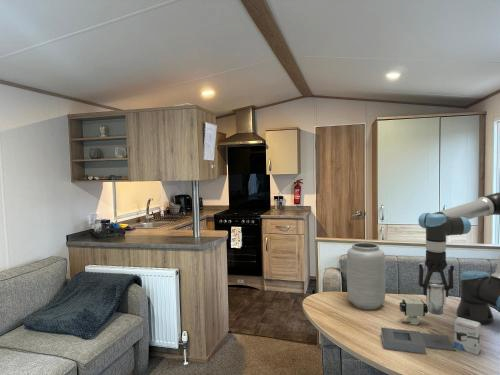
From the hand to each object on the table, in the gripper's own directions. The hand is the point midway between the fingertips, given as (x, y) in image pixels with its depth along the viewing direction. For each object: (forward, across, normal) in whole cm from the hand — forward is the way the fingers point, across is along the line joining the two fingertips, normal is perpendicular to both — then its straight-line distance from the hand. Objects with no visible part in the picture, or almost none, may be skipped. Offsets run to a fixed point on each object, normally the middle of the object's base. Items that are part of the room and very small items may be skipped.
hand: (435, 303), depth 142 cm
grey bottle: (+4, 0, 0) cm, 4 cm away
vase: (+17, +27, -35) cm, 47 cm away
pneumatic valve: (+17, +6, -17) cm, 25 cm away
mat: (+17, 0, 0) cm, 17 cm away
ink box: (+17, -11, +3) cm, 21 cm away
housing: (+17, +14, +5) cm, 23 cm away
